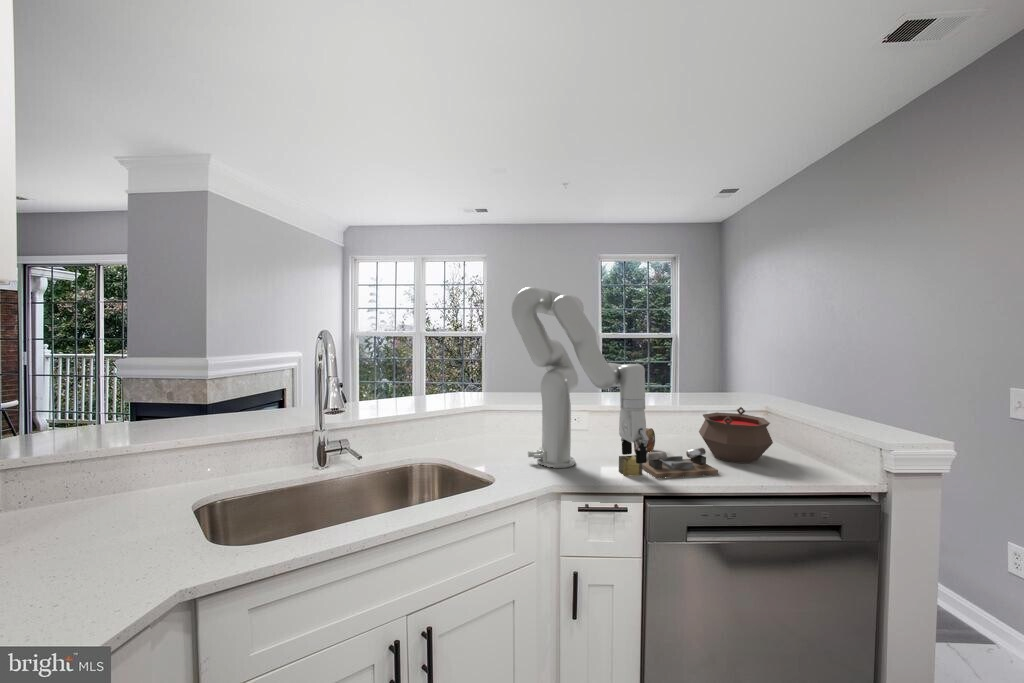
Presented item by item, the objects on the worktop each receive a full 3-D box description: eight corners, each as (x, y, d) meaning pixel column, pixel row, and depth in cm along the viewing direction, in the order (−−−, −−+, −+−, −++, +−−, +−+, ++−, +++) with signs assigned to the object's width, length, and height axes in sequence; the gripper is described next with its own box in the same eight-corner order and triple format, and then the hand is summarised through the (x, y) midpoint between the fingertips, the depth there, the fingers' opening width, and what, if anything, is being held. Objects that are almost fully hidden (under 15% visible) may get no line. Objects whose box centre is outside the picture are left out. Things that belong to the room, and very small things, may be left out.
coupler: (624, 476, 140) (624, 459, 139) (618, 471, 143) (618, 456, 143) (642, 474, 141) (642, 459, 140) (636, 470, 145) (636, 455, 144)
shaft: (694, 466, 144) (694, 452, 144) (683, 463, 148) (684, 449, 147) (707, 463, 148) (707, 449, 147) (696, 460, 151) (697, 446, 151)
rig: (656, 478, 137) (656, 458, 137) (637, 466, 149) (638, 447, 149) (718, 474, 141) (718, 455, 141) (695, 462, 153) (696, 444, 153)
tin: (640, 458, 158) (641, 434, 157) (631, 456, 160) (632, 433, 159) (655, 449, 170) (656, 426, 169) (647, 447, 171) (648, 425, 171)
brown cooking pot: (766, 472, 143) (768, 421, 143) (688, 458, 158) (689, 412, 157) (777, 455, 163) (779, 410, 162) (706, 443, 177) (707, 402, 176)
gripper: (610, 400, 149) (611, 452, 149) (634, 409, 132) (635, 467, 132) (631, 399, 150) (632, 450, 151) (657, 407, 133) (659, 465, 134)
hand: (633, 458), depth 141 cm, fingers open, 9 cm apart
